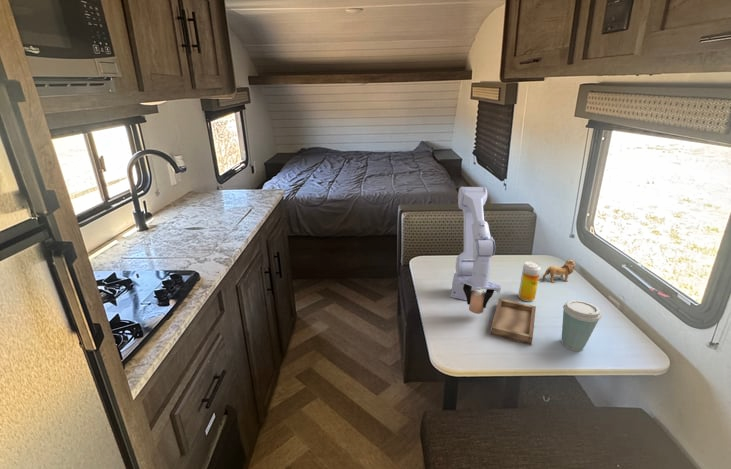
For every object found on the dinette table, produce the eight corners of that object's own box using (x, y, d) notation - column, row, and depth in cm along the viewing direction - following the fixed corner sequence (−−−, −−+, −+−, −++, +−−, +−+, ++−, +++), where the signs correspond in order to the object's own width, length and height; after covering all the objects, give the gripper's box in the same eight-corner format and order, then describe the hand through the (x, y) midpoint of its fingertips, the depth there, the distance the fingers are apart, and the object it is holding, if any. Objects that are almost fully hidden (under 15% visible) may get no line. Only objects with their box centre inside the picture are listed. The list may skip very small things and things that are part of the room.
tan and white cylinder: (467, 311, 135) (469, 294, 132) (470, 304, 139) (472, 287, 136) (482, 314, 133) (484, 297, 130) (484, 307, 137) (486, 290, 134)
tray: (490, 334, 128) (491, 327, 127) (498, 305, 145) (499, 298, 144) (531, 345, 123) (532, 337, 122) (534, 313, 139) (535, 306, 138)
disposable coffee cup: (550, 334, 128) (558, 296, 122) (582, 334, 128) (591, 296, 122) (564, 355, 118) (574, 315, 112) (599, 355, 118) (610, 315, 112)
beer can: (536, 302, 146) (542, 268, 140) (519, 301, 147) (525, 267, 141) (532, 294, 151) (539, 261, 146) (517, 293, 153) (522, 260, 147)
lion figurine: (566, 275, 166) (570, 257, 163) (575, 281, 161) (579, 262, 158) (537, 279, 163) (541, 260, 160) (546, 285, 158) (549, 266, 155)
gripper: (457, 272, 130) (454, 305, 135) (501, 281, 124) (496, 315, 129) (461, 263, 135) (458, 296, 141) (503, 271, 130) (498, 305, 135)
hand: (476, 304), depth 135 cm, fingers closed on tan and white cylinder, 5 cm apart
